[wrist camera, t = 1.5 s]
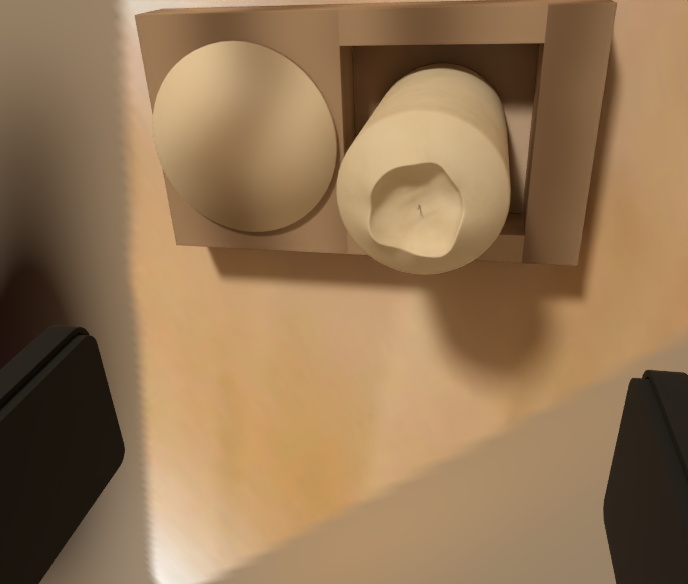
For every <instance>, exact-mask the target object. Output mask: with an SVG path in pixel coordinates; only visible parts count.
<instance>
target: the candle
mask: <svg viewBox="0 0 688 584" xmlns="http://www.w3.org/2000/svg"><path fill="white" fill-rule="evenodd" d="M336 195H337V204H338V209H339V213H340V216H341V219H342V221H343V224H344V226H345V228H346V230H347V231H348V233H349V235H350V236H351V237H352V239H353V240H354V242H355V243H356V244H357V245H358V246H359V247H360V248H361V249H362V250H363V251H364V252H365V253H366V254H367V255H369V256H370V257H371V258H373V259H374V260H376V261H377V262H379V263H381V264H383V265H385V266H387V267H389V268H392V269H394V270H397V271H401V272H405V273H410V274H418V275H431V274H440V273H444V272H449V271H452V270H455V269H458V268H461V267H463V266H465V265H466V264H468V263H470V262H472V261H473V260H475V259H476V258H478V257H479V256H480V255H482V254H483V253H484V252H485V251H486V250H487V249H488V248H489V247H490V246H491V245H492V243H493V242H494V241H495V240H496V238H497V237H498V235H499V234H500V232H501V230H502V228H503V226H504V224H505V221H506V218H507V215H508V212H509V206H510V195H511V187H510V171H509V155H508V140H507V126H506V118H505V113H504V109H503V105H502V103H501V101H500V98H499V97H498V95H497V93H496V91H495V90H494V89H493V87H492V86H491V85H490V84H489V83H488V82H487V81H486V80H485V79H484V78H483V77H481V76H480V75H479V74H477V73H476V72H474V71H472V70H470V69H468V68H465V67H462V66H459V65H454V64H446V63H440V64H431V65H426V66H423V67H420V68H417V69H415V70H413V71H411V72H409V73H407V74H406V75H404V76H403V77H402V78H400V79H399V80H398V81H397V82H396V83H395V84H394V85H393V86H392V87H391V89H390V90H389V91H388V92H387V93H386V95H385V96H384V98H383V99H382V101H381V102H380V104H379V105H378V106H377V108H376V109H375V111H374V112H373V114H372V115H371V117H370V118H369V120H368V121H367V123H366V124H365V125H364V127H363V128H362V130H361V131H360V133H359V134H358V136H357V137H356V139H355V140H354V142H353V143H352V145H351V146H350V148H349V149H348V151H347V152H346V154H345V156H344V158H343V161H342V163H341V166H340V169H339V172H338V178H337V188H336Z"/></svg>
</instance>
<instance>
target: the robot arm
mask: <svg viewBox="0 0 688 584" xmlns="http://www.w3.org/2000/svg"><path fill="white" fill-rule="evenodd" d="M124 453H125V447H124V442H123V438H122V434H121V431H120V427H119V424H118V419H117V416H116V412H115V408H114V405H113V401H112V397H111V393H110V390H109V386H108V382H107V378H106V375H105V371H104V367H103V363H102V359H101V355H100V352H99V348H98V344H97V341H96V339H95V338H94V337H92V336H90V335H89V333H88V332H87V330H86V329H84V328H82V327H71V326H59V325H55V326H50V327H49V328H47V329H46V330H45V331H44V332H43V333H41V334H40V335H39V336H38V337H37V338H36V339H35V340H33V342H31V343H30V344H29V345H28V346H27V347H25V348H24V349H23V350H22V351H21V352H20V353H19V354H18V355H16V356H15V357H14V358H13V359H12V360H11V361H10V362H9V363H7V364H6V365H5V366H4V367H3V368H2V369H1V370H0V584H38V583H39V582H40V581H41V579H42V578H43V576H44V575H45V574H46V572H47V571H48V569H49V568H50V566H51V565H52V563H53V562H54V561H55V559H56V558H57V556H58V555H59V553H60V552H61V550H62V549H63V547H64V546H65V544H66V543H67V542H68V540H69V539H70V537H71V536H72V535H73V533H74V532H75V530H76V529H77V527H78V526H79V525H80V523H81V522H82V520H83V519H84V517H85V516H86V514H87V513H88V511H89V510H90V509H91V507H92V506H93V504H94V503H95V502H96V500H97V498H98V497H99V496H100V494H101V493H102V491H103V490H104V489H105V487H106V486H107V484H108V483H109V481H110V480H111V478H112V477H113V476H114V474H115V473H116V471H117V470H118V468H119V467H120V465H121V463H122V461H123V458H124ZM603 510H604V524H605V529H606V534H607V539H608V544H609V548H610V554H611V559H612V564H613V569H614V574H615V579H616V584H688V375H687V374H686V373H681V372H668V371H655V370H646V371H645V372H644V374H643V377H642V379H640V378H632V379H631V381H630V383H629V386H628V391H627V396H626V401H625V406H624V410H623V415H622V419H621V424H620V428H619V433H618V438H617V442H616V447H615V452H614V456H613V461H612V466H611V471H610V475H609V480H608V484H607V489H606V494H605V499H604V508H603Z"/></svg>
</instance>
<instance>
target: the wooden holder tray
mask: <svg viewBox="0 0 688 584" xmlns="http://www.w3.org/2000/svg"><path fill="white" fill-rule="evenodd" d="M616 7H617V3H616V2H614V1H612V0H479V1H442V2H404V3H366V4H328V5H290V6H252V7H215V8H177V9H160V10H155V11H151V12H146V13H142V14H137V15H135V20H136V25H137V31H138V36H139V42H140V47H141V53H142V58H143V64H144V69H145V75H146V80H147V86H148V91H149V97H150V102H151V108H152V113H153V136H154V143H155V147H156V151H157V155H158V157H159V160H160V163H161V166H162V168H163V174H164V179H165V185H166V190H167V196H168V201H169V207H170V212H171V218H172V223H173V229H174V234H175V240H176V245H184V246H203V247H223V248H242V249H261V250H281V251H300V252H319V253H339V254H358V255H367V254H366V253H365V252H364V251H363V250H362V249H361V248H360V247H359V246H358V245H357V244H356V243H355V242H354V240H353V239H352V237H351V236H350V235H349V233H348V231H347V230H346V228H345V226H344V224H343V221H342V219H341V216H340V213H339V209H338V204H337V195H336V188H337V178H338V172H339V169H340V166H341V163H342V161H343V158H344V156H345V154H346V152H347V151H348V149H349V148H350V146H351V145H352V143H353V142H354V140H355V115H354V84H353V53H352V46H363V45H438V44H513V43H539V51H538V61H537V71H536V81H535V91H534V101H533V111H532V121H531V131H530V141H529V151H528V161H527V171H526V181H525V191H524V201H523V211H522V213H508V215H507V218H506V221H505V224H504V226H503V228H502V230H501V232H500V234H499V235H498V237H497V238H496V240H495V241H494V242H493V243H492V245H491V246H490V247H489V248H488V249H487V250H486V251H485V252H484V253H483V254H482V255H480V256H479V257H478V258H476V259H475V260H474V261H493V262H513V263H532V264H551V265H571V266H578V259H579V253H580V246H581V240H582V233H583V226H584V220H585V213H586V206H587V200H588V193H589V186H590V180H591V173H592V167H593V160H594V153H595V147H596V140H597V133H598V127H599V120H600V113H601V107H602V100H603V93H604V87H605V80H606V74H607V67H608V60H609V54H610V47H611V40H612V34H613V27H614V20H615V14H616Z"/></svg>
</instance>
